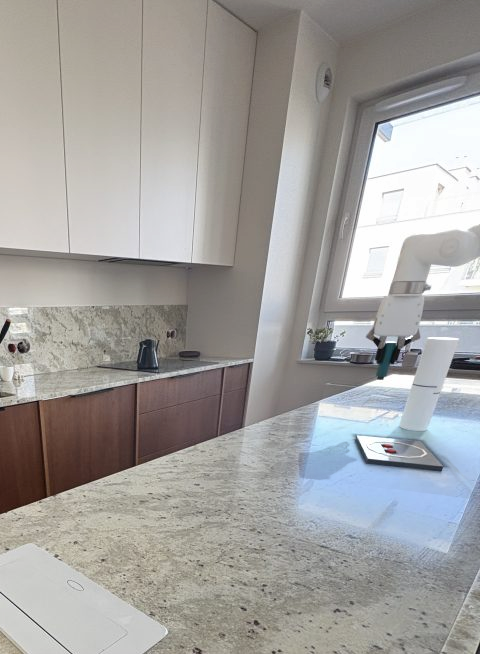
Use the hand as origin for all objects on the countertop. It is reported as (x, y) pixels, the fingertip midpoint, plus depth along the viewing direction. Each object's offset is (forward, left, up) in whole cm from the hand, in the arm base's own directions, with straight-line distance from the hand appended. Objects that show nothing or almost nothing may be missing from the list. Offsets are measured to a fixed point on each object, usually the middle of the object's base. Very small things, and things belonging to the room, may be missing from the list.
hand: (384, 362), depth 119 cm
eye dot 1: (-2, +22, -19) cm, 29 cm away
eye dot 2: (-2, +26, -19) cm, 32 cm away
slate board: (-3, +24, -19) cm, 31 cm away
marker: (0, 0, -5) cm, 5 cm away
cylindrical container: (-13, -5, -19) cm, 23 cm away
